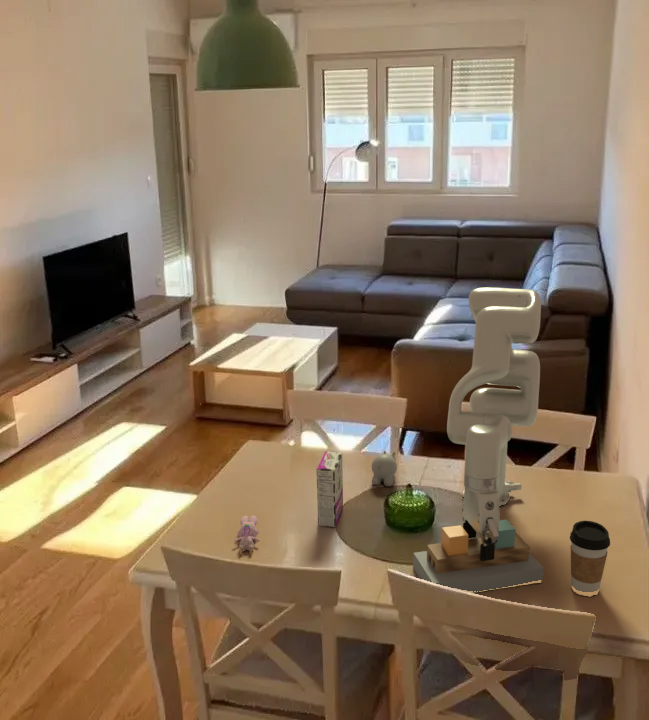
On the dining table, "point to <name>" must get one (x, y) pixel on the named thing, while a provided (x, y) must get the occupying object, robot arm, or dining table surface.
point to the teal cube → (505, 535)
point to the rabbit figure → (247, 534)
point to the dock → (480, 574)
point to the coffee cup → (588, 555)
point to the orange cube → (454, 540)
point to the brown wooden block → (475, 556)
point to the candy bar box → (330, 489)
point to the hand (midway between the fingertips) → (477, 548)
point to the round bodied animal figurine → (384, 469)
